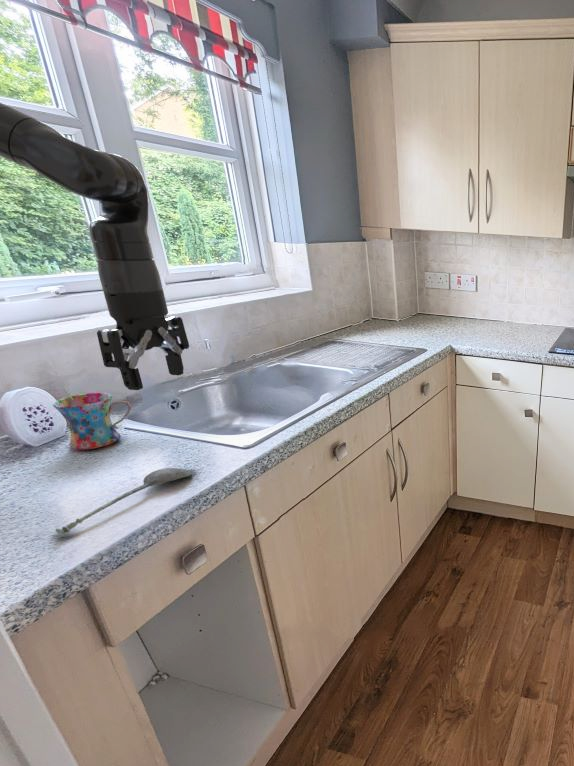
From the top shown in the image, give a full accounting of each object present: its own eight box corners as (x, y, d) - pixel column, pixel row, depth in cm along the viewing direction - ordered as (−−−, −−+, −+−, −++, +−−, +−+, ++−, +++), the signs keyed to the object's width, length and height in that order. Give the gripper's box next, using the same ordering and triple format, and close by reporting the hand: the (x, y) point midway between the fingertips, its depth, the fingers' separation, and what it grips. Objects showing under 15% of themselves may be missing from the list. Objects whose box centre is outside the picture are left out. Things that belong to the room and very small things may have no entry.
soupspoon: (201, 477, 91) (174, 474, 93) (197, 462, 90) (171, 459, 92) (75, 540, 71) (44, 535, 72) (69, 522, 70) (37, 516, 71)
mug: (63, 456, 96) (47, 410, 92) (72, 440, 103) (58, 396, 99) (137, 444, 102) (125, 400, 99) (141, 430, 109) (129, 388, 106)
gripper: (149, 282, 81) (170, 369, 86) (66, 291, 68) (97, 393, 73) (189, 284, 81) (207, 371, 86) (114, 294, 67) (141, 396, 73)
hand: (157, 381), depth 80 cm, fingers open, 8 cm apart
